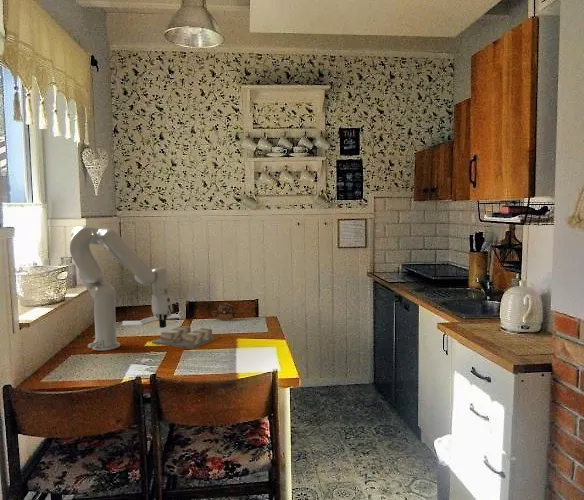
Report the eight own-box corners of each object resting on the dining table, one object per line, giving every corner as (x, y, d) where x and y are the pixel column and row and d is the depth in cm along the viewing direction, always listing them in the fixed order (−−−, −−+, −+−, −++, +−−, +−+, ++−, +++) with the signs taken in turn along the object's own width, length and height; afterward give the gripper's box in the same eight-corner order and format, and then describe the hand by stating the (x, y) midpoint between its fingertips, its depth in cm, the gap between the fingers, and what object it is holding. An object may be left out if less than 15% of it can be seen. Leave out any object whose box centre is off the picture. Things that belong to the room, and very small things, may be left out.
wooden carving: (210, 320, 296) (209, 304, 295) (213, 319, 301) (212, 302, 300) (236, 321, 293) (236, 304, 292) (239, 319, 297) (238, 303, 296)
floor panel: (193, 348, 236) (193, 346, 236) (152, 343, 246) (152, 341, 246) (214, 339, 252) (214, 337, 252) (175, 335, 263) (175, 333, 263)
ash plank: (172, 343, 242) (172, 334, 242) (161, 341, 245) (160, 333, 245) (192, 335, 256) (192, 327, 256) (181, 334, 260) (181, 326, 259)
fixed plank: (192, 345, 237) (192, 336, 237) (182, 344, 240) (182, 335, 239) (212, 337, 251) (211, 329, 251) (202, 336, 254) (201, 328, 254)
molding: (180, 314, 320) (180, 309, 320) (191, 316, 312) (191, 312, 311) (118, 325, 289) (118, 320, 289) (129, 328, 281) (128, 323, 281)
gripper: (176, 291, 254) (179, 326, 255) (153, 290, 260) (156, 324, 262) (167, 293, 247) (169, 330, 249) (143, 292, 253) (146, 328, 255)
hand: (163, 327), depth 255 cm, fingers closed
